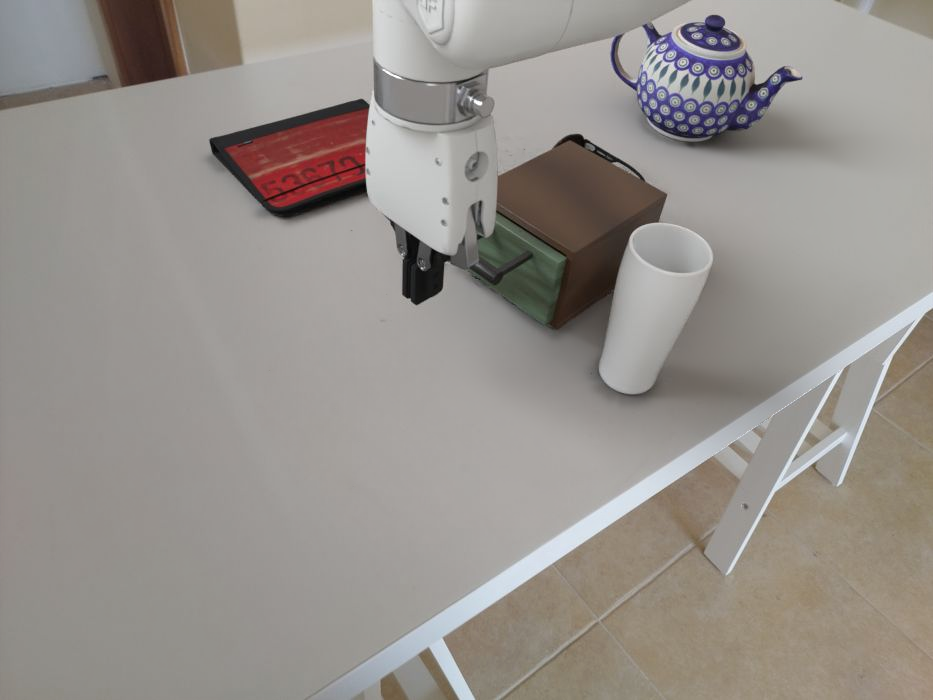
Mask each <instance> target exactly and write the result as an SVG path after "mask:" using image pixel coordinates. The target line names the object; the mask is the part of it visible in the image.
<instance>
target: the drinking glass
mask: <svg viewBox="0 0 933 700" xmlns="http://www.w3.org/2000/svg"><path fill="white" fill-rule="evenodd" d="M713 263H714V253H713V249H712V248H711V246H710V244H709V243H708V241H706V239H704V238H703V237H702V236H701V235H699V234H698V232H695V231H694V230H692V229H689V228H687V227H684V226H682V225H678V224H674V223H668V222H658V223H650V224H646V225H643V226H641V227H639V228H637V229H636V230H635V231H634V232H633V233H632V234H631V236H630V238H629V241H628V244H627V246H626V249H625V252H624V255H623V258H622V261H621V264H620V268H619V271H618V275H617V279H616V284H615V289H614V290H613V296H612V299H611V300H612V301H611V305H610V311H609V317H608V321H607V327H606V331H605V337H604V342H603V348H602V352H601V355H600V357H599V362H598V372H599V375H600V378H601V379H602V381H603V382H604V383H605V385H606V386H608V387H609V388H610V389H612V390H613V391H616V392H617V393H620V394H624V395H640V394H643V393H646V392H647V391H649V390H651V389H652V388H653V386H654V385H655V383H656V382H657V379H658V377H659V374H660V372H661V370H662V368H663V366H664V364H665V362H666V360H667V358H668V356H669V355H670V353H671V351H672V349H673V347H674V346H675V343H676V342H677V340H678V338H679V336H680V334H681V333H682V331H683V329H684V327H685V326H686V324H687V322H688V320H689V318H690V317H691V315H692V313H693V311H694V309H695V307H696V305H697V304H698V301H699V299H700V297H701V295H702V292H703V290H704V287H705V285H706V283H707V280H708V278H709V274H710V271H711V268H712V265H713Z"/></svg>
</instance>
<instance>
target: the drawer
mask: <svg viewBox="0 0 933 700" xmlns="http://www.w3.org/2000/svg"><path fill="white" fill-rule="evenodd" d="M519 226H520V225H519V224H517V223H516V222H514V221H512V220H511V219H509V218H508V217H506V216H505V215H503V214H502V213H500V212H499V211H497V210H496V217H495V225H494V230H493V233H492V235H490V236H489V237H487V238H484V237H483V236H481V235H478V234H477V242H478V252H479V263H477V264H475V265H474V266H472V267H470V268H468V269H467V270H466V271H468V272H469V273H470V274H472V275H473V276H474V277H475V278H478V279H479V280H480V281H481V282H483V283H484V284H485V285H487V286H488V287H490V288H491V289H493V290H494V291H495V292H497V293H498V294H499V295H501V296H503V297H504V298H505V299H506V300H508V301H510V302H511V303H512V304H514V305H516V307H518V308H519V309H521V310H522V311H524V312H525V313H526V314H527V315H529V316H530V317H532V318H533V319H535V320H536V321H537V322H539V323H540V324H542V325H543V326H547V325H548V323H550V322H551V321H552V320H553V317H554V312H555V308H556V304H557V299H558V295H559V291H560V286H561V282H562V278H563V273H564V269H565V264H566V260H567V257H566V256H567V255H565V254H564V253H562V254H560V253H559V252H557V251H556V250H554V249H553V248H551V247H550V246H548V245H547V244H545V243H543V242H542V241H540V240H539V239H537V238H536V237H534V236H533V235H531V234H530V233H528V232H526V231H525V230H523V229H522V228H520V227H519Z"/></svg>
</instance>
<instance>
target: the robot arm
mask: <svg viewBox="0 0 933 700" xmlns="http://www.w3.org/2000/svg"><path fill="white" fill-rule="evenodd" d="M691 1H692V0H371V3H372V55H373V57H372V58H373V59H372V60H373V63H372V64H373V89H372V91H371V93H372V94H371V97H370V102H369V105H370V108H369V115H368V124H367V135H366V158H365V160H366V186H367V191H366V192H367V197H368V200H369V201H370V203H371V204H372V205H373V207H374V208H375V209H376V210H377V211H379V212H380V213H381V214H382V215H383V216H384V217H385V218H386V219H387V220H388V221H389V224H390V226H391V227H392V229H393V231H394V233H395V243H396V249H397V252H398V254H399V255H400V256H401V257H403V259H402V266H401V267H402V269H401V270H402V274H401V282H402V283H401V295H402V296H403V297H404V298H406V300H409V299H410V302H411V303H412V304H413V305H415V306H419V305H421V304H422V303H424V302H426V301H427V300H429V299H431V298H433V297H436V296H438V294H440V293H441V292H442V291H443V289H444V281H445V280H444V279H445V264H446V262H448V263H450V265H452V266H454V267H457V268H460V269H462V270H463V271H468V270H467V269H468V268H470V267H472V266H474V265H475V264H477V263H479V252H478V242H477V234H478V235H481V236H483V237H484V238H487V237H489V236H490V235H492V233H493V230H494V225H495V217H496V205H497V182H498V176H499V175H498V170H499V168H498V167H499V165H498V162H499V161H498V145H497V135H496V134H497V133H496V126H495V121H494V116H493V115H492V112H493V111H494V108H495V100H494V98H493V97H491V96H490V95H488V85H489V73H490V69H495V68H500V67H503V66H507V65H511V64H514V63H519V62H523V61H527V60H531V59H534V58H535V59H536V58H538V57H541V56H544V55H548V54H551V53H556V52H559V51H563V50H566V49H571V48H575V47H578V46H582V45H586V44H591V43H596V42H600V41H604V40H608V39H613V38H614V37H615V36H618V35H621V34H624V33H625V34H626V33H629V32H631V31H633V30H636V29H638V28H640V27H642V26H643V25H645V24H647V23H649V22H651V23H652V22H653V21H655V20H657V19H659V18H661V17H662V16H664V15H667V14H669V13H671V12H672V11H675V10H677V9H678V8H680V7H682V6H684V5H686V4H687V3H689V2H691ZM625 34H624V35H625Z"/></svg>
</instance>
